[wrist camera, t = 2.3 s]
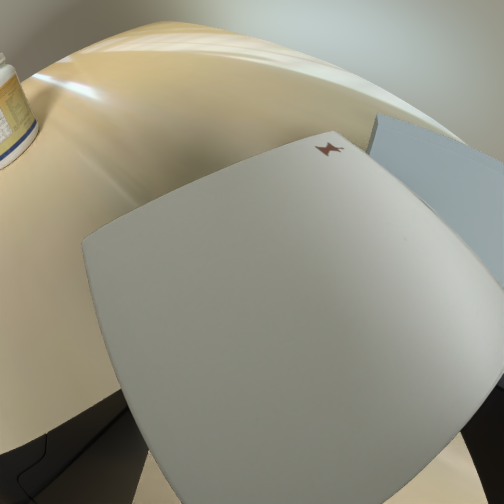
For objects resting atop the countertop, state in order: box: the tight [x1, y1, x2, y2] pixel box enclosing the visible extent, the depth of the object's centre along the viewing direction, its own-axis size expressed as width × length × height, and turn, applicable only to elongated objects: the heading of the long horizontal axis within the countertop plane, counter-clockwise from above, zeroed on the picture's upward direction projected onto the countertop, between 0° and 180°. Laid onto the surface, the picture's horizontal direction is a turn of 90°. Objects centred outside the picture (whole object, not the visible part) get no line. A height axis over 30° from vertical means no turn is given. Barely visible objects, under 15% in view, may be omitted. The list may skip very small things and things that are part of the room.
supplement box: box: [81, 131, 504, 504], centre depth 10 cm, size 7×7×13 cm
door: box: [366, 113, 504, 288], centre depth 14 cm, size 16×2×10 cm, turn 73°
